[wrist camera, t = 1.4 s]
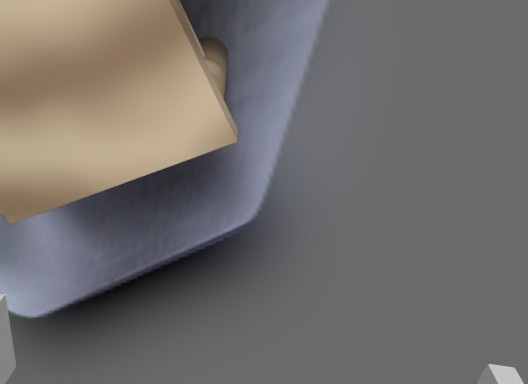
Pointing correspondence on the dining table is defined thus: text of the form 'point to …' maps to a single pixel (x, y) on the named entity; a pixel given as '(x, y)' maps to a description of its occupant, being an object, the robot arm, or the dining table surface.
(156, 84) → the stool
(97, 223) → the dining table surface
